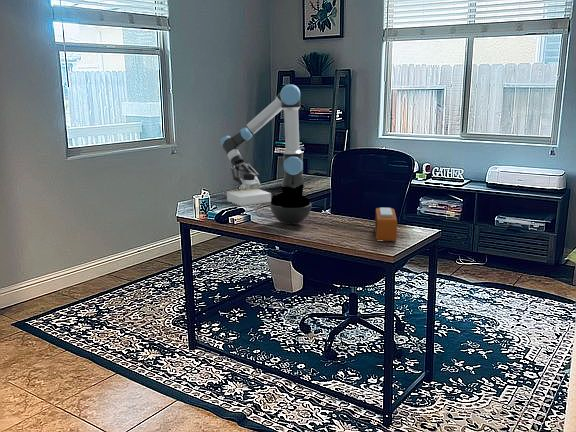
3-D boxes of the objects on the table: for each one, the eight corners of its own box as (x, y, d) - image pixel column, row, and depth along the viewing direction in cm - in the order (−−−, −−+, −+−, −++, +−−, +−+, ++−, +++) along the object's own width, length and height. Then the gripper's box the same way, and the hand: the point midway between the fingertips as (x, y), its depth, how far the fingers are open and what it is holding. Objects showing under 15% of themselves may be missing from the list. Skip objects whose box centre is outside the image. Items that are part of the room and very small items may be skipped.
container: (250, 196, 335) (249, 175, 332) (240, 195, 340) (239, 173, 336) (258, 194, 341) (258, 173, 338) (248, 193, 346) (248, 172, 342)
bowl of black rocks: (274, 230, 262) (273, 190, 258) (267, 219, 281) (266, 182, 277) (315, 227, 266) (316, 188, 262) (306, 217, 285) (306, 181, 281)
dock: (257, 196, 334) (257, 188, 333) (271, 201, 321) (271, 192, 320) (227, 200, 324) (226, 191, 323) (240, 206, 311) (239, 196, 309)
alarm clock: (375, 228, 267) (376, 204, 264) (392, 228, 266) (394, 205, 263) (376, 242, 244) (377, 217, 241) (396, 243, 243) (397, 217, 240)
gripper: (247, 160, 354) (264, 188, 347) (218, 164, 339) (234, 193, 332) (253, 152, 349) (269, 181, 342) (223, 156, 334) (239, 185, 327)
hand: (252, 187), depth 337 cm, fingers open, 10 cm apart
